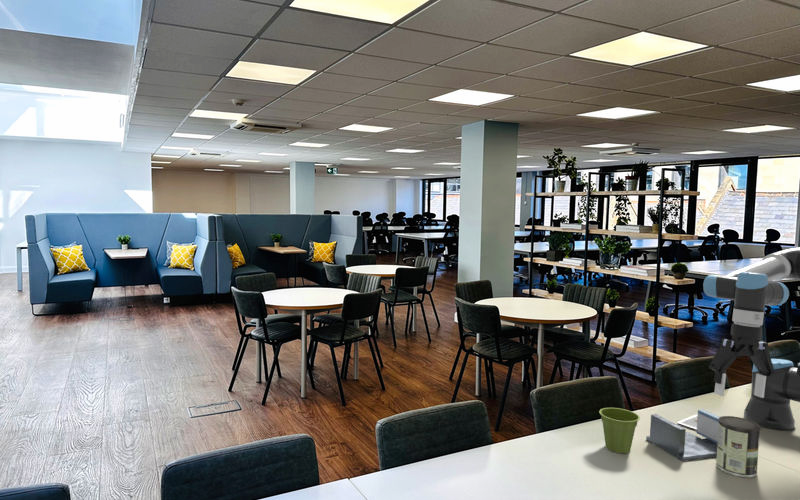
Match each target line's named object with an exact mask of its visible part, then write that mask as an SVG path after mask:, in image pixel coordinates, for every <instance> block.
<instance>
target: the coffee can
mask: <svg viewBox="0 0 800 500" xmlns="http://www.w3.org/2000/svg"><path fill="white" fill-rule="evenodd" d="M718 421H719V427H718V444H717V457H716V461H715V465H716V467H717V469H719V470H721V471H722V472H725V473H727V474H729V475H733V476H736V477H739V478H749V479H750V478H755V477H757V476H758V462H759V460H758V459H759V446H760V432H761V427H762V426H760V425H758V424H757V423H755V422H753V421H751V420H748V419H745V418H743V417H738V416H733V415H722V416H719V419H718Z"/></svg>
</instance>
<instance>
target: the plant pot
mask: <svg viewBox="0 0 800 500" xmlns="http://www.w3.org/2000/svg"><path fill="white" fill-rule="evenodd" d="M598 412H599V415H600V416H601V417H600V418H601V422H602V428H603V435H604V443H605V447H606V448H607V450H609V451H611V452H613V453H617V454H620V453H623V454H627V453H630V452H631V449H632V445H633V440H634V435H635V431H636V427H637V426H638V421H640V419H641V417H640V415H639V414H637V413H636V412H634V411H631V410H628V409H624V408H620V407H603V408H600V410H599V411H598Z"/></svg>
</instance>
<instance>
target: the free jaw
mask: <svg viewBox="0 0 800 500" xmlns="http://www.w3.org/2000/svg"><path fill="white" fill-rule="evenodd" d="M697 414H698V416H697V430H696V434H697V435H699V436H701V437H704V438H707V439H709V440H711V441H713V442H715V443H717V444H718V427H719V421H718V419H719V417H720V416H719V415H717V414H714V413H712V412H709V411H708V410H705V409H697Z"/></svg>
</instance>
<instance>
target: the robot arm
mask: <svg viewBox="0 0 800 500" xmlns="http://www.w3.org/2000/svg"><path fill="white" fill-rule="evenodd" d="M782 280H798V281H800V246H799V247H793V248H792V247H791V248H786V249H782V250H779V251H776V252H773V253H769V254H767V255H765V256H764V257H763V258H762V259H761V260H760V261H757V262H755V263H752V264H749V265H747V266H745V267H742V268H739V269H736V270H734V271H731V272H729V273H726V274H723V275H722V274H721V275H720V274H709V275H707V276H706V277H705V279H704V280H703V284H702V286H703V293H704V294H705V295H706V296H707V297H711V298H715V299H723V300H727V301H728V300H730V301H733V302H734V304H733V312H732V319H731V320H732V322H733V323H731V327H730V335H731V337H732V338H731V340H730V339H726V338H721V342H720V346H719V347H718V349H717V351H716V353H715V354H714V357H713V358H712V360H711V361H710V363H709V365H708V369H710V370H712V371H714V376H713V377H714V378H713V382H714V383H715V385H714V394H715V395H719V396H721V397H724V395H725V389H726V388H725V387H726V379H727V373H726V370H728V368H729V367H730V366H731V365H732V364H733V362H735V360H736V359H737V358H740V357H749V358H750V360H751V361H752V364H753V366H752V370H751V372H752V374H751V375H752V376H751V377H752V378H751V388H750V389H751V390H750V398H749V400H748V402H747V405H746V406H745V409H744V411H743V417H744V419H748V420H751V421H753V422H755V423H757V424H758V425H760V427H764V428H768V429H773V430H779V431H787V430H788V431H790V430H793V429H794V428H795V427H796V426H795V424H796V423H795V422H796V421H795V418H794V415H793V411H792V407H791V401H793V402H797V403H800V362H798V363H797V367H795V366H794V362H793V361H791V360H789V359H783V358H771V357H772V356H771V354H770V352H769V343H768V342H766V341H761V339H762V335H763V328H762V327H761V326H763V324H764V318H765V317H764V316H765V315H764V314H765V308H766V306H770V307H775V306H780V305H783V304H785V303H786V302H787V300H788V299H789V296H790V291H789V288H788V287H787V286H786V285H785V284H784V282H783V283H782V282H780V281H782Z"/></svg>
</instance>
